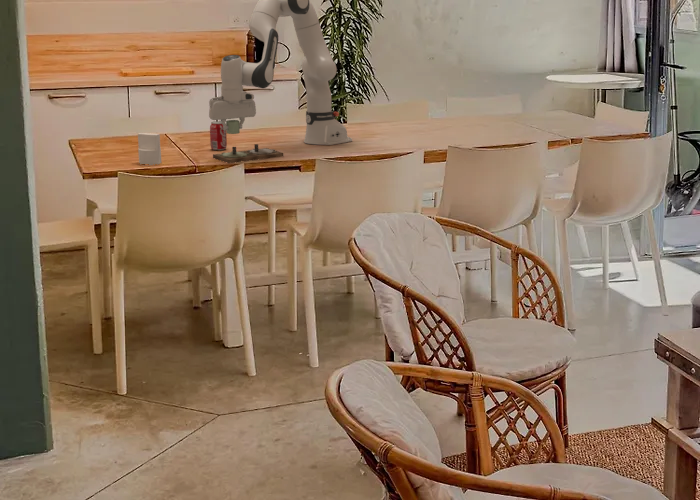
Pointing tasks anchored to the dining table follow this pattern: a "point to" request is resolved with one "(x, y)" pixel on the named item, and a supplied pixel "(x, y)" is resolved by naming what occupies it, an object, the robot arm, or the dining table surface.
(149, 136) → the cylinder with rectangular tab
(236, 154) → the gear board
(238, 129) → the green cube
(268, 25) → the robot arm
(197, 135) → the dining table surface
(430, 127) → the dining table surface
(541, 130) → the dining table surface
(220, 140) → the soda can
